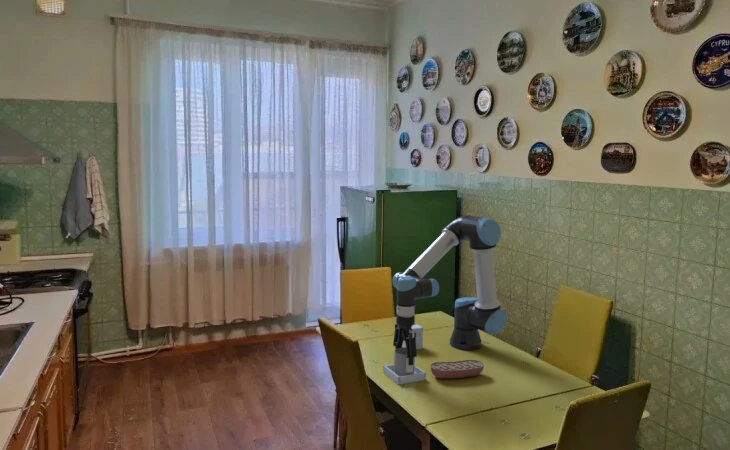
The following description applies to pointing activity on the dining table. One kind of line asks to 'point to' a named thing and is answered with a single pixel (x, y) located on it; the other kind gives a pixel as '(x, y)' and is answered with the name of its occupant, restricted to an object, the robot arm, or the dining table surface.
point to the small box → (417, 336)
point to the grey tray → (415, 377)
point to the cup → (401, 362)
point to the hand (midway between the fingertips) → (404, 368)
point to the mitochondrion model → (457, 369)
